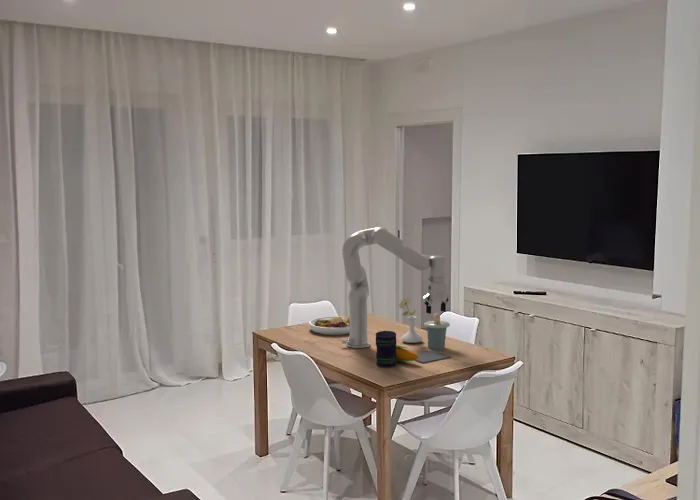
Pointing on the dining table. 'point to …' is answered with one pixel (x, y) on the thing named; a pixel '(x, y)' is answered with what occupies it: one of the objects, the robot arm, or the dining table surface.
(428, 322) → the lid
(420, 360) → the mat
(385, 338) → the storage jar
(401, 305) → the flower in vase
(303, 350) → the dining table surface
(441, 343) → the teal cup
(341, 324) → the bowl
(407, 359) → the corn
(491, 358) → the dining table surface
